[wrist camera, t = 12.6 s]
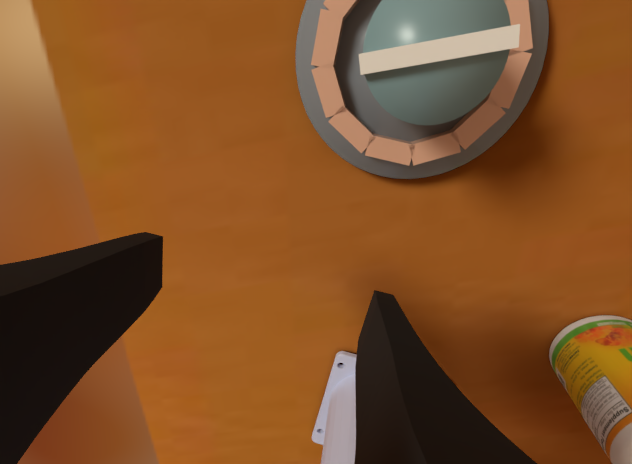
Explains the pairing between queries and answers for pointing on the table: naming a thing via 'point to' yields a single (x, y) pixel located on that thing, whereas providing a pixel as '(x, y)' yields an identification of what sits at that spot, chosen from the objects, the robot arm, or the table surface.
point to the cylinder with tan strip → (436, 56)
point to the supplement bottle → (599, 378)
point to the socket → (380, 126)
